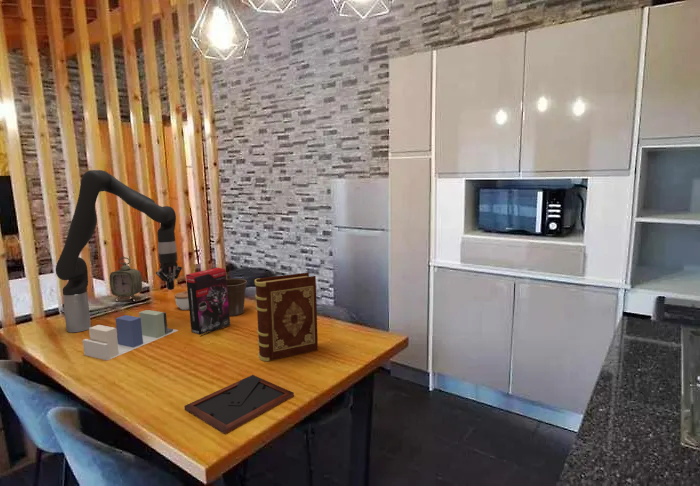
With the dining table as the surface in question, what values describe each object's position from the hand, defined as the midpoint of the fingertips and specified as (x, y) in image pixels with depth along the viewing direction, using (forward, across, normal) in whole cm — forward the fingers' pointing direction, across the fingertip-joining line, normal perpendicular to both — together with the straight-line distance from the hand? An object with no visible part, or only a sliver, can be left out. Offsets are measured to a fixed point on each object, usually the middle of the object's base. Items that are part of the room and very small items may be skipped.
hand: (170, 289), depth 189 cm
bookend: (+17, +7, 0) cm, 18 cm away
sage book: (+17, +11, 0) cm, 21 cm away
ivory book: (+17, +33, 0) cm, 38 cm away
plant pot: (+19, -29, +9) cm, 36 cm away
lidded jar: (+19, -26, -19) cm, 37 cm away
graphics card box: (+19, -5, +17) cm, 26 cm away
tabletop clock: (+19, -25, -62) cm, 70 cm away
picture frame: (+20, +40, +70) cm, 83 cm away
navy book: (+17, +22, 0) cm, 28 cm away
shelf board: (+18, +20, 0) cm, 27 cm away
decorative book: (+19, +3, +63) cm, 66 cm away
